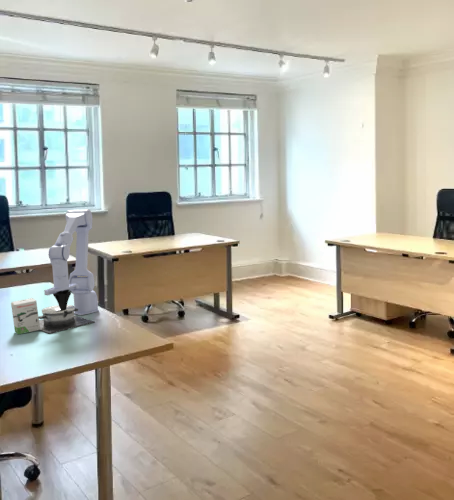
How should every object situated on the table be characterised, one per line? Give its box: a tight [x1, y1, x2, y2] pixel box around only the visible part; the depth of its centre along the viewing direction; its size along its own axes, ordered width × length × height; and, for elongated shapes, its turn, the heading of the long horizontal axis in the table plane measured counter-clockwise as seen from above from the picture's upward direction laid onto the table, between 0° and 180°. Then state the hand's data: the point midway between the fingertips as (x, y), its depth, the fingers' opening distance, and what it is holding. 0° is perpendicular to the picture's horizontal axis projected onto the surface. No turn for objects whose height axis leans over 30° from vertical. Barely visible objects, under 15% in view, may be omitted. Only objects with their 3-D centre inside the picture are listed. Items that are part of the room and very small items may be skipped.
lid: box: [41, 304, 75, 315], centre depth 230 cm, size 13×16×2 cm
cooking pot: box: [38, 308, 95, 335], centre depth 232 cm, size 20×20×5 cm
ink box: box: [10, 297, 40, 335], centre depth 221 cm, size 9×5×12 cm, turn 123°
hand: (63, 309), depth 228 cm, fingers closed, pressing on lid
